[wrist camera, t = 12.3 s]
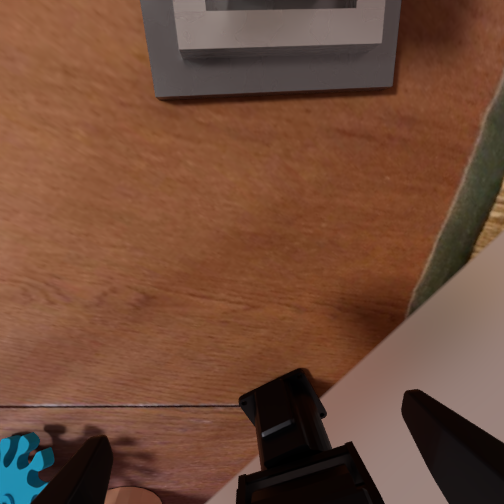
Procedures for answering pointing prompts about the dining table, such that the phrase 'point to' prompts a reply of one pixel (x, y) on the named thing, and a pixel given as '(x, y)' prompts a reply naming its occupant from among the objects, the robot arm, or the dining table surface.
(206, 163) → the dining table surface
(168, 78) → the locating plate
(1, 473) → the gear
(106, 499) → the pepper shaker
